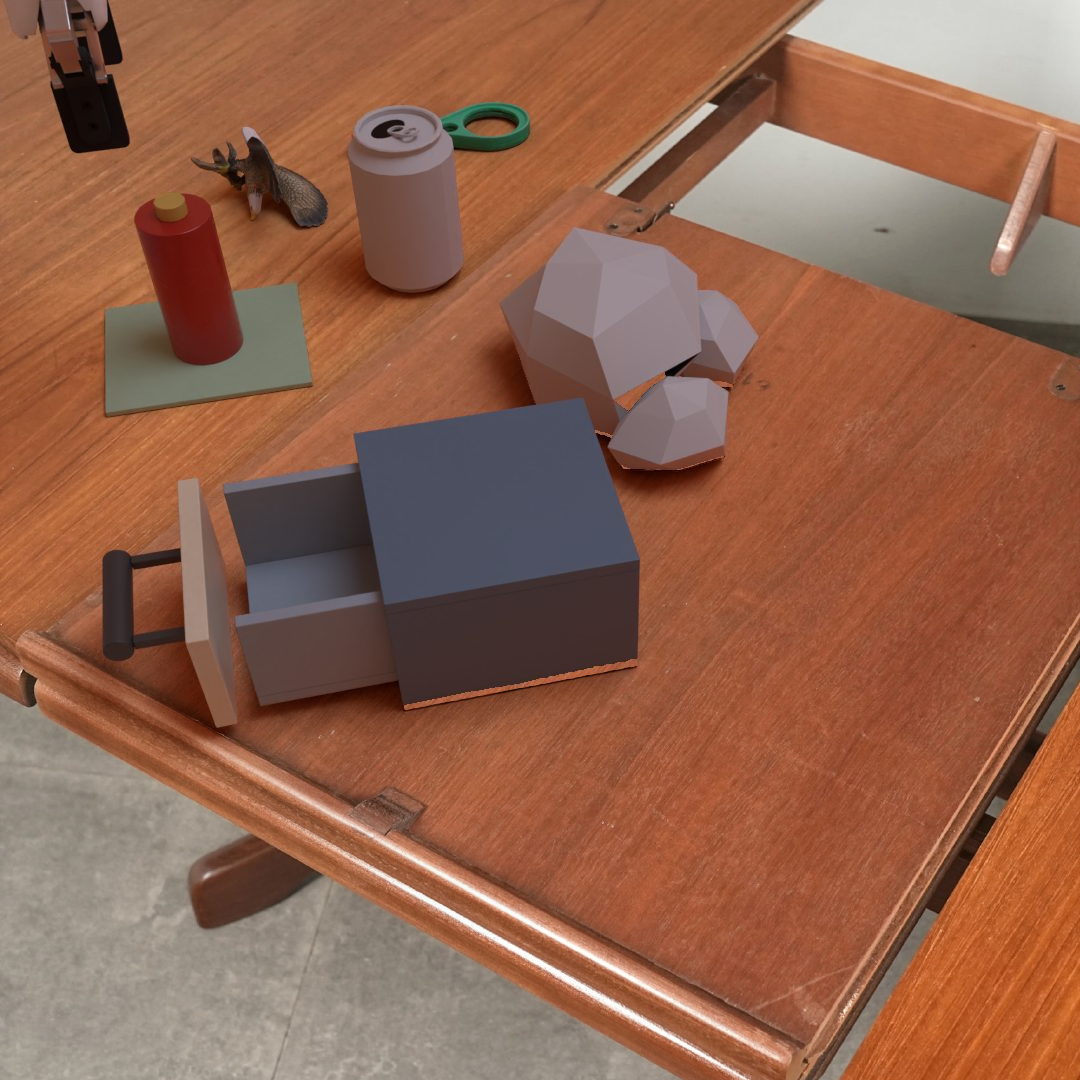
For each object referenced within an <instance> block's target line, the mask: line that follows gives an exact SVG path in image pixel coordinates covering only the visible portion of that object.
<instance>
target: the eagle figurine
mask: <svg viewBox="0 0 1080 1080" xmlns="http://www.w3.org/2000/svg"><path fill="white" fill-rule="evenodd" d="M241 133H242V136H243V138H244V141H245V142H246V147H247V148H248V156H247V157H246V158H245V157H244V158H240V159H239V158H236V157H237V153H238V151H237V150H236V149H235V147H234V146H233V144H232V143H231V142H230V141H225V143H226V146H227V149H228V156H227V159H226V157H225V155H224V154H223V153H222V151H221V150H220V148H218V147H216V148H213V149H212V152H211V155H212V156H211V157H212V159H213V162H207V161H203V160H201V159H199V158H197V157H191V158H190V161H191V162H192V163H193V164H194V165H195V166H196V167H197V168H199V169H201V170H204V171H208V172H209V171H210V172H214V173H216V174H219V175H220V176H222V177H223V178H225V179H226V180H227V181H228V182H229V184H230V186H232V187H233V188H234V189H236V191H237V192H242V191H243V186H245V192H246V194H247V199H248V205H249V211H250V218H249V220H250V221H254V220H255V219H256V217H257V215H258V214H259V213H260V212H261V210H262V200H263V195H264V193H268V194H270V195H271V196H272V199H273V200H274V201H275V202H276V203H280V202H281V200H282V201H283V203H284V204H285V205H286V206H287V207H288V209H289V211H290V213H291V215H292V217H293V219H294V221H295V222H296V223H297V225H298V226H299V227H304V226H305V227H307V228H311V227H312V226H314V227H320V225H322V224H325V223H326V220H325V219H326V218H328V216H329V215H328V213H327V211H329V208H328V205H329V204H328V203H329V202H327V201H328V200H327V199H326V198H325V194H323V193H322V192H321V190H320V189H319V188H318V187H316V186H315V184H314V183H313V182H312V181H310V180H308V178H305V177H304V176H303V175H301V174H300V173H298V172H295V171H293V170H292V169H289V168H288V167H286V166H285V167H284V166H283V165H278V164H277V163H275V161H274V159H273V157H272V155H271V153H270V152H269V150H268V148H267V146H266V145H265V143H264V142H263V140H262V139H261V137H260V135H259V134H258V133H257V132H256V130H255V129H254V128H252V127H250V126H243V127H241ZM239 172H240V173H242V175H241V176H240V175H238V173H239Z"/></svg>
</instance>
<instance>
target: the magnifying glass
mask: <svg viewBox="0 0 1080 1080" xmlns="http://www.w3.org/2000/svg"><path fill="white" fill-rule="evenodd" d="M484 117H499V118H504V119H508V120H509V121H512V122H513V123H514V124H516V125H517V127H516V128H515V129H514V130H511V132H507V133H504V134H501V135H491V136H488V135H480V134H476V133H474V132H472V131H469V130H468V129H467V128H465V127H466V125H467V124H468V123H469V122H472V121H473V120H476V119H479V118H484ZM438 118H439V119H440V120H441V121H442V127H443V129H444V130H445V131H446V132H447V133H448V134H449V135H450V137H451V138H452V142H453V148H456V149H466V150H476V151H487V152H488V151H489V152H490V151H501V150H506V149H510V148H515V147H516V146H518V145H520V144H522V143H523V142H525V141H526V140H527V139H528V138H529V136H530V134H531V121H530V119H531V118H530V115H529V114H528V112H527V111H526V110H525V109H524V108H522V107H520V106H518V105H515V104H512V103H507V102H501V101H487V102H486V101H485V102H478V103H473V104H470V105H468V106H465V107H462V108H460V109H458V110H455V111H453V112H450V113H448V114H446V115H444V116H441V117H438ZM350 137H351V139H352V138H353V137H354V132H353V133H351V136H350Z"/></svg>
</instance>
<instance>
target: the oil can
mask: <svg viewBox="0 0 1080 1080" xmlns="http://www.w3.org/2000/svg"><path fill="white" fill-rule="evenodd" d="M133 222H134V226H135V229H136V233H137V236H138V240H139V242H140V247H141V249H142V253H143V255H144V259H145V262H146V267H147V269H148V272H149V276H150V279H151V282H152V286H153V289H154V292H155V296H156V298H157V299H156V300H157V302H158V303H159V306H160V309H161V313H162V316H163V319H164V323H165V326H166V329H167V333H168V336H169V339H170V343H171V346H172V349H173V352H174V354H175V355H176V356H177V357H178V358H179V359H180V360H182V361H184V362H186V363H189V364H194V365H210V364H215V363H219V362H222V361H224V360H226V359H228V358H230V357H232V356H233V355H235V354H236V353H237V352H238V351H239V350H240V348H241V346H242V344H243V333H242V329H241V325H240V321H239V317H238V313H237V309H236V305H235V301H234V297H233V293H232V291H233V290H232V285H231V282H230V278H229V273H228V270H227V266H226V261H225V258H224V254H223V249H222V246H221V241H220V238H219V234H218V233H219V232H218V229H217V225H216V222H215V218H214V214H213V210H212V207H211V204H210V203H209V202H208V201H207V200H206V199H205V198H203V197H201V196H198V195H195V194H191V193H182V192H180V193H179V192H172V191H171V192H165V193H161V194H159V195H158V196H156V197H153V198H152V199H150V200H148V201H146V202H144V203H143V204H141V206H140V207H138V209H137V210H136V212H135V214H134V217H133Z"/></svg>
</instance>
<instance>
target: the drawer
mask: <svg viewBox="0 0 1080 1080" xmlns="http://www.w3.org/2000/svg"><path fill="white" fill-rule="evenodd" d="M222 489H223V495H224V496H223V497H224V500H225V503H226V506H227V510H228V513H229V516H230V520H231V523H232V527H233V529H234V533H235V537H236V540H237V543H238V546H239V550H240V554H241V557H242V561H243V564H244V570H245V578H246V590H247V601H248V611H249V613H246V614H245V613H244V614H240V615H235V616H234V618H233V619H234V628H235V631H236V634H237V637H238V640H239V644H240V647H241V650H242V653H243V656H244V659H245V663H246V666H247V670H248V672H249V676H250V679H251V681H252V685H253V688H254V690H255V694H256V696H257V700H258V704H259V706H260V707H263V706H264V707H265V706H269V705H273V704H279V703H284V702H285V703H286V702H290V701H295V700H301V699H307V698H312V697H318V696H322V695H327V694H333V693H338V692H343V691H348V690H354V689H361V688H365V687H371V686H376V685H381V684H387V683H393V682H397V681H398V676H397V671H396V665H395V660H394V655H393V649H392V644H391V639H390V633H389V628H388V623H387V618H386V612H385V607H384V602H383V596H382V590H381V585H380V579H379V574H378V568H377V563H376V557H375V552H374V546H373V540H372V535H371V529H370V524H369V518H368V513H367V507H366V502H365V496H364V491H363V485H362V479H361V474H360V468H359V463H358V462H353V463H347V464H341V465H340V464H339V465H334V466H329V467H321V468H315V469H310V470H309V469H308V470H304V471H303V470H302V471H297V472H291V473H284V474H278V475H272V476H266V477H260V478H259V477H258V478H254V479H253V478H252V479H248V480H241V481H235V482H229V483H223V484H222ZM176 491H177V492H176V493H177V511H178V530H179V547H177V548H171V549H165V550H159V551H153V552H147V553H141V554H136V555H131V554H130V553H129V552H127V551H126V550H122V549H112V550H110V551H107V552H106V553H104V555H103V557H102V560H101V561H102V562H101V563H102V564H101V565H102V567H101V569H102V571H101V573H102V574H101V575H102V577H101V578H102V579H101V582H102V583H101V585H102V586H101V588H102V590H101V591H102V592H101V593H102V599H101V600H102V601H101V602H102V607H101V608H102V609H101V611H102V612H101V613H102V614H101V615H102V618H101V619H102V621H101V622H102V624H101V625H102V627H101V628H102V629H101V630H102V634H101V635H102V642H101V643H102V644H101V646H102V647H101V648H102V649H101V651H102V655H103V657H105V658H106V659H107V660H109V661H112V662H123V661H127V660H129V659H130V658H132V657H133V656H134V654H135V650H141V649H148V648H151V647H158V646H163V645H169V644H174V643H180V642H184V643H185V646H186V648H187V651H188V655H189V657H190V659H191V662H192V665H193V668H194V670H195V674H196V676H197V678H198V682H199V684H200V687H201V690H202V692H203V696H204V698H205V700H206V703H207V706H208V709H209V711H210V714H211V716H212V720H213V723H214V726H215V727H216V728H222V727H227V726H233V725H237V724H238V723H239V718H238V706H237V705H238V704H237V695H236V694H237V693H236V682H235V668H234V657H233V656H234V655H233V645H232V634H231V622H230V621H231V620H230V607H229V606H230V605H229V594H228V583H227V570H226V563H225V560H224V557H223V553H222V550H221V547H220V544H219V541H218V537H217V534H216V530H215V528H214V525H213V521H212V518H211V514H210V511H209V509H208V505H207V501H206V499H205V496H204V492H203V489H202V485H201V483H200V479H199V478H198V477H193V478H187V479H180V480H179V479H178V480H177V481H176ZM177 563H178V564H179V563H180V565H181V566H180V568H181V584H182V585H181V586H182V587H181V588H182V605H183V622H184V623H183V624H184V625H182V626H177V627H170V628H166V629H159V630H154V631H149V632H143V633H137V634H136V633H135V623H134V622H135V619H134V618H135V616H134V615H135V613H134V612H135V610H134V571H135V570H142V569H148V568H154V567H160V566H166V565H171V564H177ZM398 682H399V681H398Z"/></svg>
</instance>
